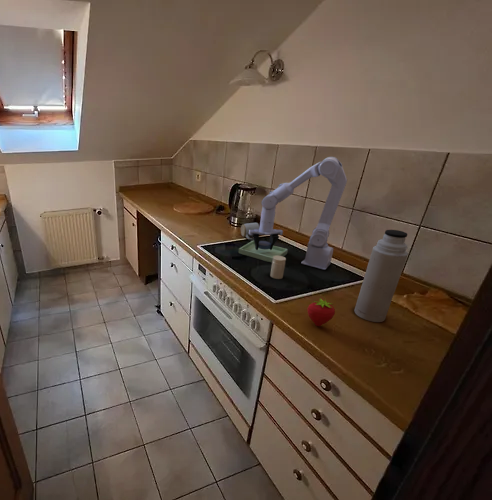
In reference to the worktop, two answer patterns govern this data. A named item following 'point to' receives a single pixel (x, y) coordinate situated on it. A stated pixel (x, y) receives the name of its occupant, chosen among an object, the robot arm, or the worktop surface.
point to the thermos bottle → (382, 276)
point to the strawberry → (320, 312)
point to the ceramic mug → (247, 227)
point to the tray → (262, 252)
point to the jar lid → (264, 245)
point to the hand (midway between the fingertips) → (263, 249)
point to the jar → (278, 267)
